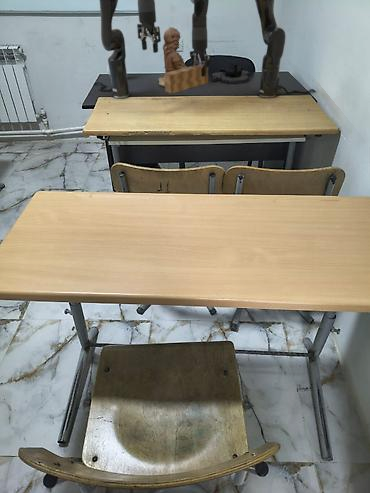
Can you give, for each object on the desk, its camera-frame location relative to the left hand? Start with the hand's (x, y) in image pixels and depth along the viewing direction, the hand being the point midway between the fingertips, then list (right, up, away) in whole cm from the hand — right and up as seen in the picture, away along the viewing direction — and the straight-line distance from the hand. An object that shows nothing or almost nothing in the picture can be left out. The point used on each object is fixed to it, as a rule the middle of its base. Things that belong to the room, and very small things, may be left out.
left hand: (150, 51), depth 167 cm
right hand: (+24, -3, +17) cm, 30 cm away
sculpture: (+12, +11, +57) cm, 59 cm away
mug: (-28, +18, +67) cm, 75 cm away
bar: (+17, -10, +16) cm, 25 cm away
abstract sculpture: (+46, +15, +60) cm, 77 cm away
